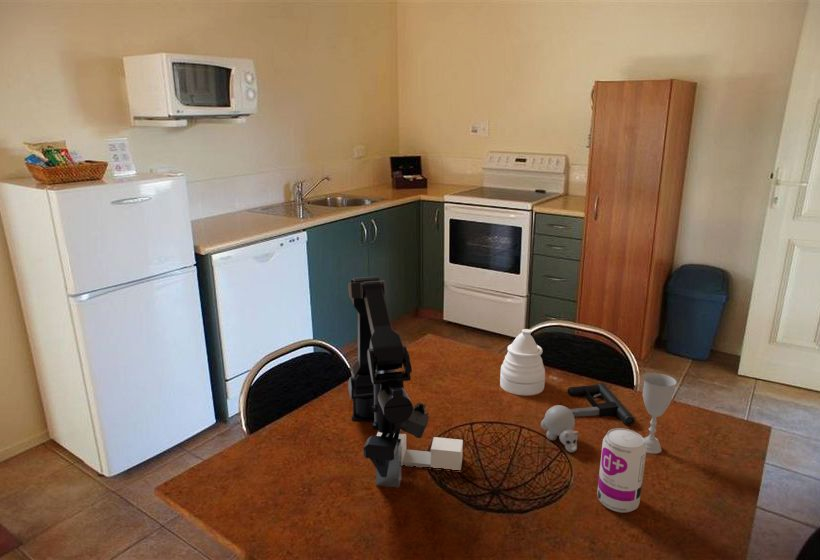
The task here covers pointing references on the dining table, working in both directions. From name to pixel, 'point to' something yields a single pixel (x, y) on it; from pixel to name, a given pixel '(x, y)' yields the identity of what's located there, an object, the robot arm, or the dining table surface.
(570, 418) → the round bodied animal figurine
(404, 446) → the white block dumbbell
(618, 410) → the toy submachine gun
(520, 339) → the honey pot
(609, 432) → the supplement can
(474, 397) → the dining table surface
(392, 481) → the grey brushed metal block
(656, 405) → the chalice
